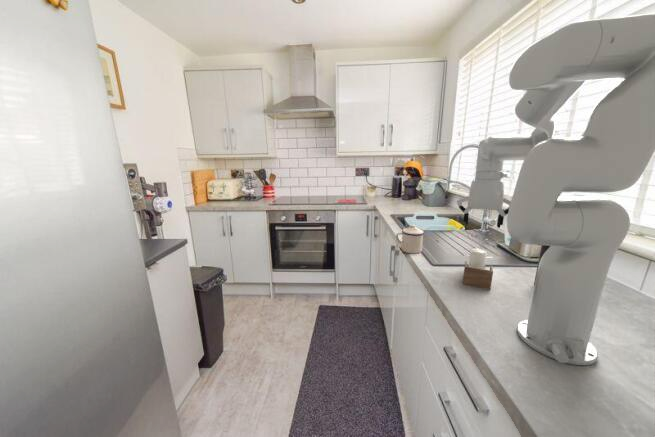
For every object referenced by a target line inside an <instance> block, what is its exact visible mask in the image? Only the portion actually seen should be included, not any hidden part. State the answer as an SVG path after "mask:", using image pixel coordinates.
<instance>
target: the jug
mask: <svg viewBox="0 0 655 437" xmlns="http://www.w3.org/2000/svg"><path fill="white" fill-rule="evenodd" d="M487 255H488V252H487V250H484V249H481V248H478V247H477V248H471V249H470V250H469V256H468V257H469V259H468V263H467V264H468V265H467V266H469V267H475V268H480V269H486V264H487V257H488V256H487Z"/></svg>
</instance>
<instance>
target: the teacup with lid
mask: <svg viewBox="0 0 655 437" xmlns="http://www.w3.org/2000/svg"><path fill="white" fill-rule="evenodd" d="M424 234H425V233H424V230H422V229H420V228H418V227H416V225H415V224H410V226H409V227H406V228H403V229H402V230H401V232H398V233H396V235H395V240H396V242H398V243H399V244H401V251H402V252H404V253H407V254H414V255H415V254H419V253H422V251H423V240H424V239H423V238H424ZM399 235H402V236H401V237H402V238H401V240H399Z"/></svg>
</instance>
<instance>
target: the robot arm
mask: <svg viewBox="0 0 655 437" xmlns="http://www.w3.org/2000/svg"><path fill="white" fill-rule="evenodd" d="M617 79H619V80H621V82H619V83H618V84H616V85H614V87H613V88H611V89H610V90H608V92H607V93H605V95H604V96H603V97H602V98H601V99H600V100H599V101H598V102H597V103H596V105H595V106H594V107H593V109H592V111H591V113H590V116H589V119H588V122H587V124H586V127H585V129H584V131H583V132H582V134H581V135H580V136H570V137H564V136H563V137H554V135H555V132H556V127H557V126H556V125H557V124H556V117H555V116H556V115H557V113H558V112H559V111H560V110H561V109H562V108H563V107H564V106H565V105H566V104H567V103H568V102H569V101H570V99H572V97H573V96H574V95H575V94H576V93H578V91H579V90H580V89H581V88H582V87H583V86H584V84H585V83H587V82H589V81H599V80H617ZM508 84H509V87H510V88H511V89H512V90H514V91H517V92H524V93H523V95H522V96H521V97H520V98H519V100H518V101H517V103H516V105H515V107H514V112H515V116H516V117H517V118H518V120H520V121H521V122H522V123H525V124H526V125H528V126H531V127H533V130H531V132H529V133H528V134H527V133H523V134H521V133H519V134H497V135H491V136H489V137H488V138H486V139H482V140H480V141H479V143H478V147H477V148H478V149H477V156H476V157H477V160H476V164H475V174H474V175H475V177H474V180H471V184H470V187H469V193H468V196H466V197H462V198H461V199H457V200H456V204H457V206H458V209H460V211H462V213H463V223H465V224H464V225H465V226H467V225H468V223H469V217H470V216H469V212H470V211H471V210H481V211H483V210H484V211H485V210H486V211H497V213H498V216H497V221H496V227H497V228H498V229H500V228H501V226H504V219H505V216H506V229H507V233H508V234H509V237H511V239H512V240H514V241H515V242H517V243H519V244H523V245H531V246H532V245H533V246H542V245H547V246H550V247H549V248H548V249H547V251H546V252H545V253H544V254H543V256H542V258H541V260H540V263H539V267H538V271H537V270H536V271H537V276H536V275H535V276H536V281H535V280H534V281H535V286H534V285H533V286H534V287H533V291H532V297H531V302H530V307H529V312H528V319H525V320H521V321H520V322H518V324H517V327H516V332H517V334H518V336H519V337H520V339H521V340H522V341H523V342H524V343H525V344H527V345H528V346H529V347H530V348H532V349H533V350H535V351H537V352H539V353H540V354H542V355H544V356H546V357H549V358H551V359H554V360H556V361H557V362H558V363H561V364H570V365H574V366H590V365H593V364H595V363H596V362H597V360H598V358H599V354H598V351H597V349H596V347H595V346H594V345H593V344H592V343H591V342H590V339H591V336H592V331H593V327H594V324H595V320H596V316H597V313H598V308H599V306H600V301H601V298H602V295H603V290H604V287H605V285H606V284H605V283H606V280H607V277H608V273H609V270H610V267H611V264H612V261H613V259H614V257H615V255H616V253H617V252H618V250H619V248H620V247H621V245H622V243H623V242H624V240H625V238H626V237H627V234H628V233H629V230H630V225H631V220H630V218H631V217H630V216H629V213H628V212H627V210H626V209H625V208H624V207H623V205H621V204H619V203H618V202H616V201H613V200H611V199H607V198H602V197H594V196H561V194H563V193H566V194H568V193H578V194H579V193H581V194H582V193H585V194H586V193H597V194H599V193H614V192H615V193H616V192H620V191H624V190H627V189H629V188H631V187H632V186H634V185H635V184H636V183H637V182H638V181H639V179H640V178H642V177H641V176H642V175H643V173H644V172H645V171H646V168H647V166H648V164H649V163H650V160H651V159H652V156H653V154H654V153H655V13H646V14H645V13H644V14H636V15H628V16H619V17H617V16H616V17H610V18H609V17H608V18H607V17H606V18H598V19H588V20H581V21H580V20H579V21H576V22H573V23H570V24H569V23H568V24H567V25H564V26H562V27H560V28H559V29H557V30H555V31H553V32H551V33H549V34H548V35H546V36H544V37H542V38H540V39H539V40H536V41H535V42H533V43H532V44H530V45H529V46H527V47H526V48H525V49H524V50H523V51H522V52H521V53H520V54H519V56H518V57H517V58H516V60H515V61H514V63H513V65H512V67H511V69H510V72H509V76H508ZM553 137H554V138H553ZM504 161H523V162H522V165H521V167H520V170H519V173H518V177H517V180H516V184H515V188H514V191H513V193H512V197H511V200H509V199H507V198H505V197H504V193H505V192H504V190H505V189H504V188H505V186H504V184H505V183H504V180H502V179H504V178H507V177H508V172H503V168H504V167H503V166H504ZM466 201H467V207H464V206H463V204H462V203H465V202H466ZM503 204H506V205H508V207H507V208H505V209H504V210H503Z"/></svg>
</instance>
